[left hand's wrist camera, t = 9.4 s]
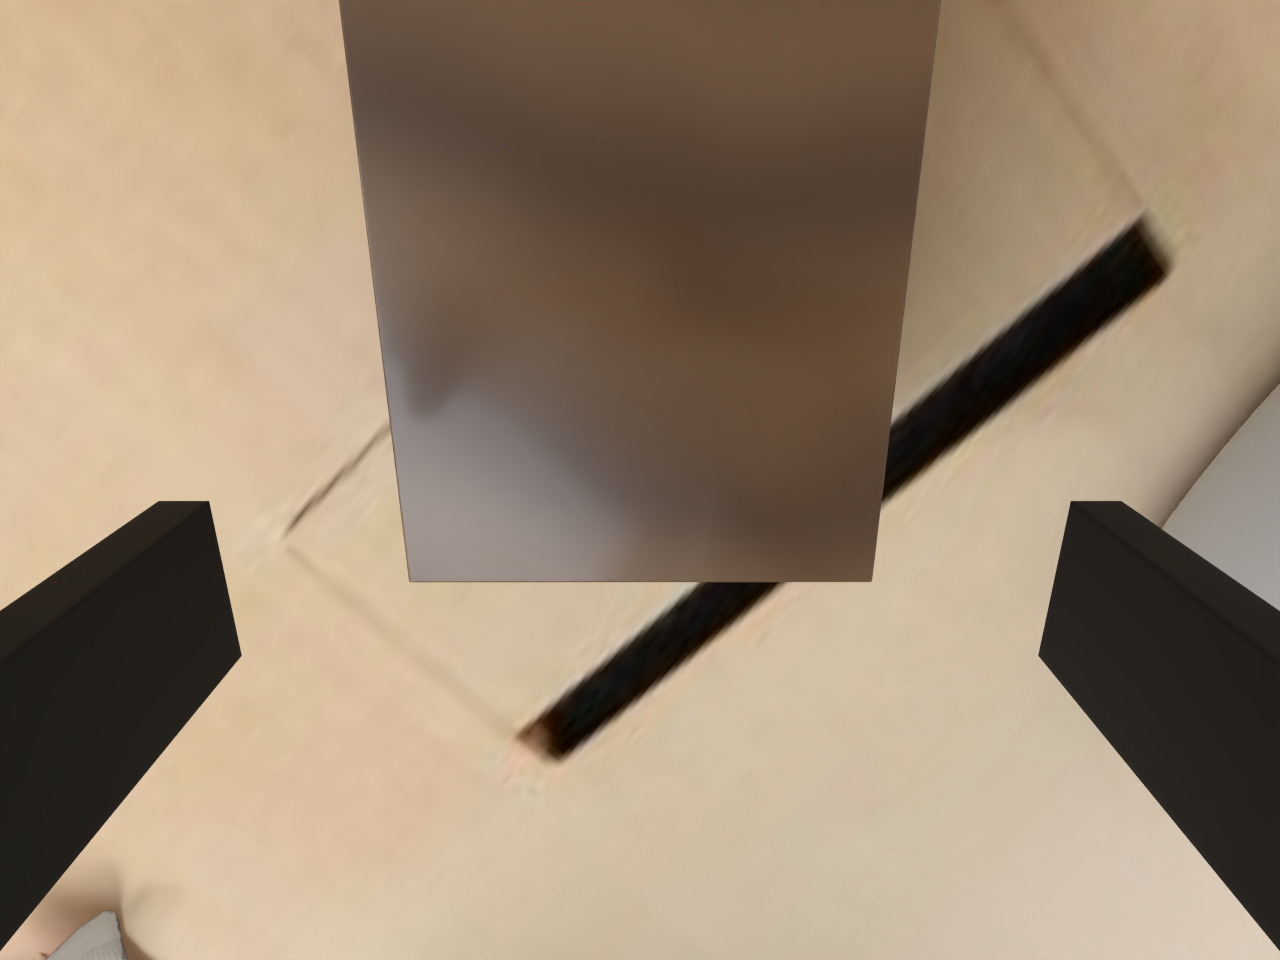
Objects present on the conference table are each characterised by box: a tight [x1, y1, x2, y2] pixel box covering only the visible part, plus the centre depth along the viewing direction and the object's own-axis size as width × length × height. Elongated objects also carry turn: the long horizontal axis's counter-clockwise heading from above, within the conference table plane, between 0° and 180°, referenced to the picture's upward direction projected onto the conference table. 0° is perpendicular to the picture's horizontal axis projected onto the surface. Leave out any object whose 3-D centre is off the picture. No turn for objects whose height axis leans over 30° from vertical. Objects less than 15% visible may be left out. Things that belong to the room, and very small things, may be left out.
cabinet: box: [339, 0, 941, 582], centre depth 22 cm, size 20×11×12 cm, turn 0°
